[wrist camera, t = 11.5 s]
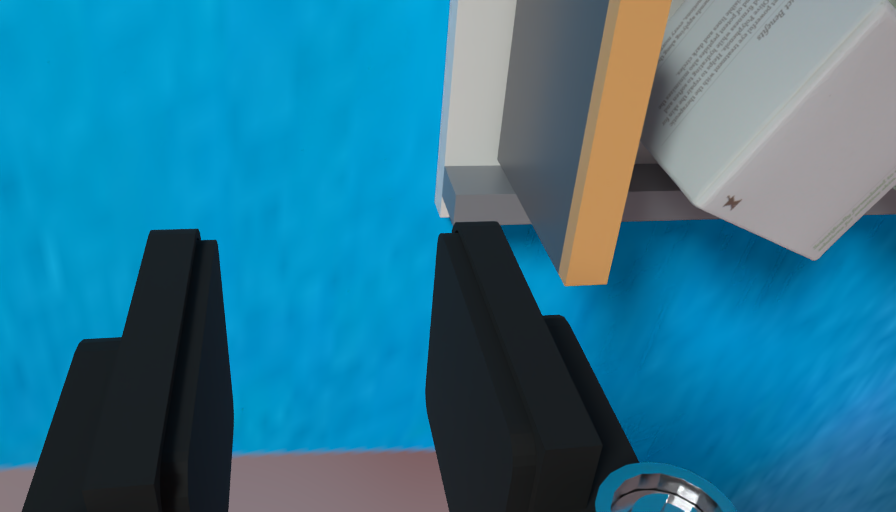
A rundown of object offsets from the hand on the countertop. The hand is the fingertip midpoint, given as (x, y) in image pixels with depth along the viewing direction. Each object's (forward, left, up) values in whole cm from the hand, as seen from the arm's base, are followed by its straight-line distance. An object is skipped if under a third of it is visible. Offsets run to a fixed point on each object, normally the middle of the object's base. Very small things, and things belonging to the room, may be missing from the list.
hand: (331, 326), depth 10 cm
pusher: (+6, 0, -12) cm, 13 cm away
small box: (+12, 0, -11) cm, 16 cm away
